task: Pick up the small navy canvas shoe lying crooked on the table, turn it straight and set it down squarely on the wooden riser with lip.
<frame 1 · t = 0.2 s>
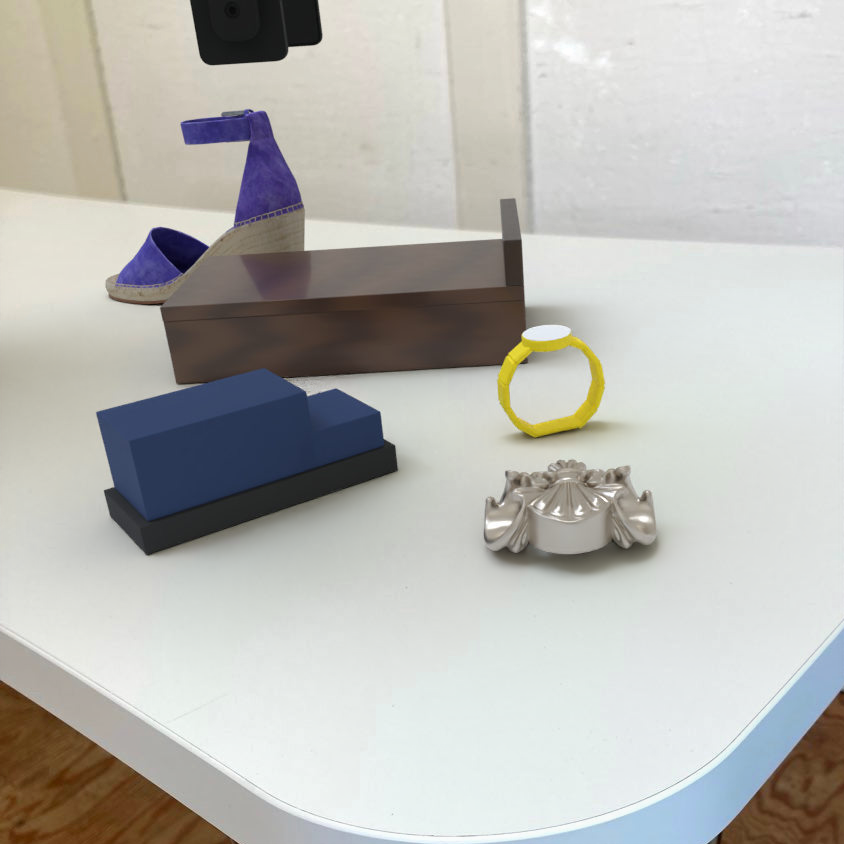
hand: (268, 53, 44), 21 cm above the table, tool pointing down, fingers open, 9 cm apart
sandal: (209, 297, 93), on the table
ornament: (570, 540, 50), on the table
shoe: (258, 492, 56), on the table
watch: (553, 433, 62), on the table
wooden riser with lip: (362, 342, 78), on the table
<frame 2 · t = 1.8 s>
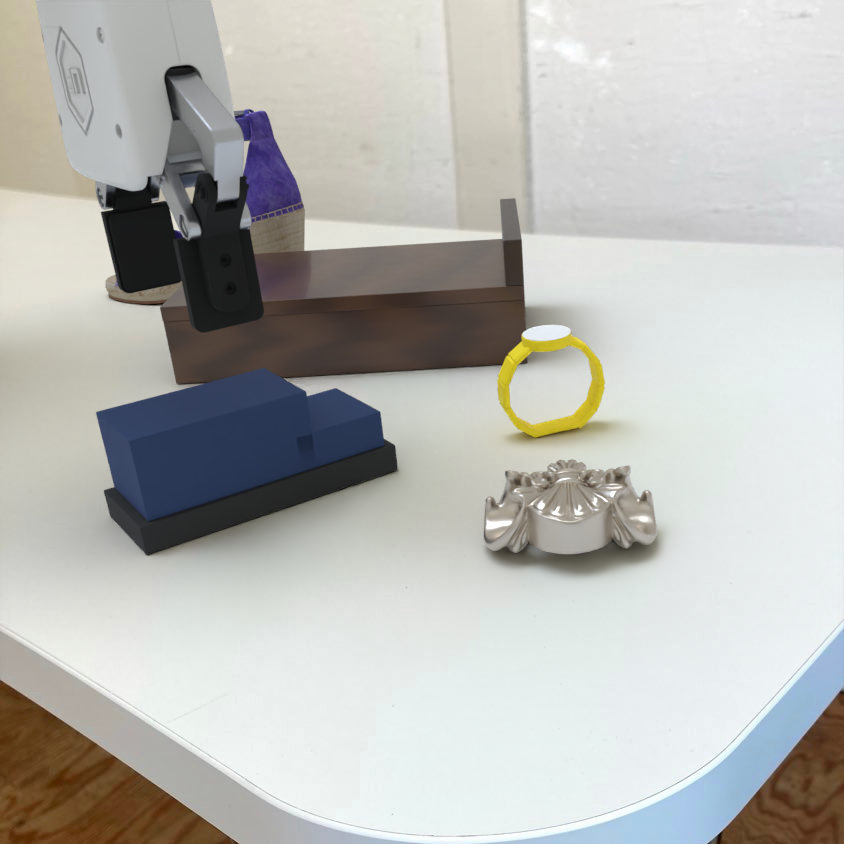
hand: (188, 304, 50), 11 cm above the table, tool pointing down, fingers open, 9 cm apart
nothing on the table moved.
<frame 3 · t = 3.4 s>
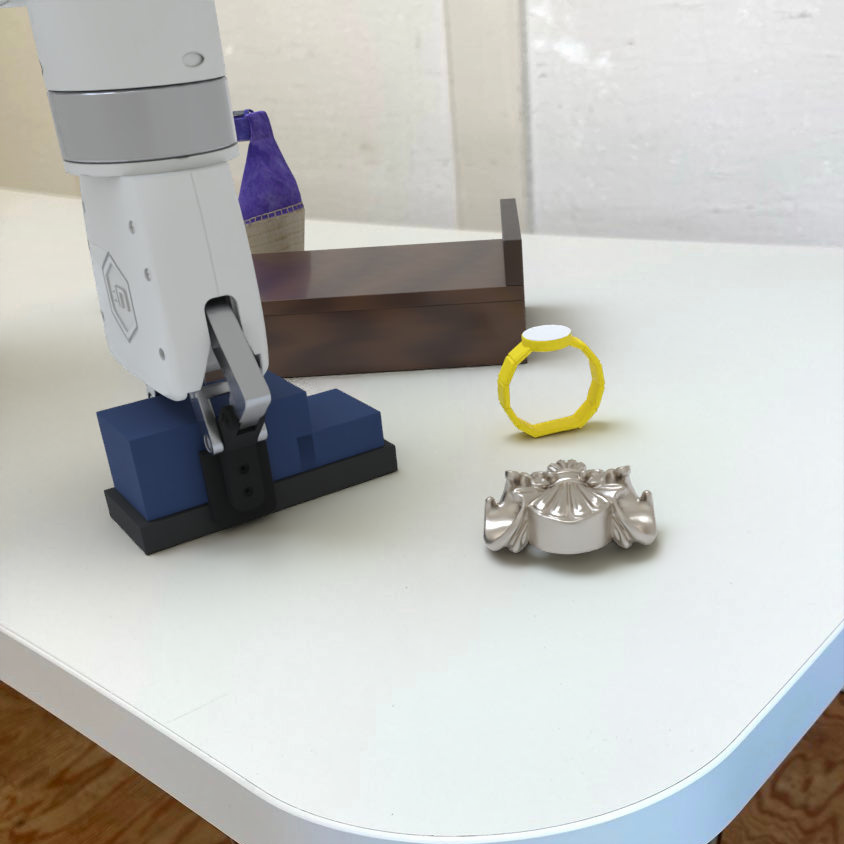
hand: (220, 493, 55), 1 cm above the table, tool pointing down, fingers closed on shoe, 5 cm apart
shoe: (258, 492, 56), on the table, touching gripper
everything else where it was.
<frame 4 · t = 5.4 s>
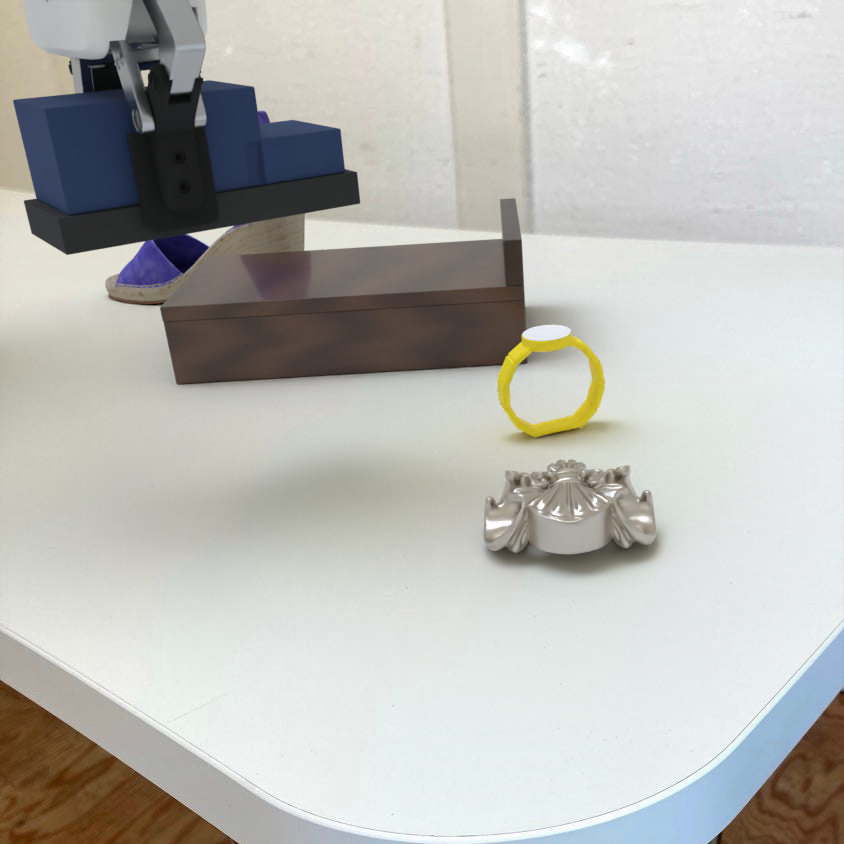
hand: (157, 211, 49), 15 cm above the table, tool pointing down, fingers closed on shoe, 5 cm apart
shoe: (201, 218, 50), point 14 cm above the table, touching gripper
everything else where it was.
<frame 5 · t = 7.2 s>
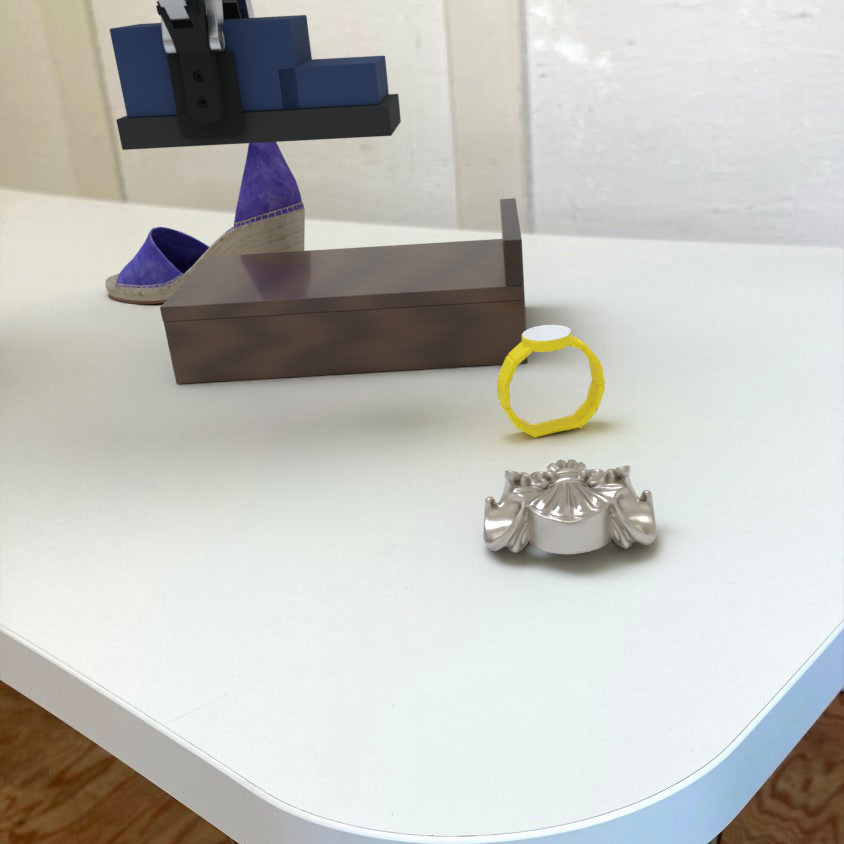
hand: (227, 125, 57), 17 cm above the table, tool pointing down, fingers closed on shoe, 5 cm apart
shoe: (267, 135, 57), point 17 cm above the table, touching gripper
everything else where it was.
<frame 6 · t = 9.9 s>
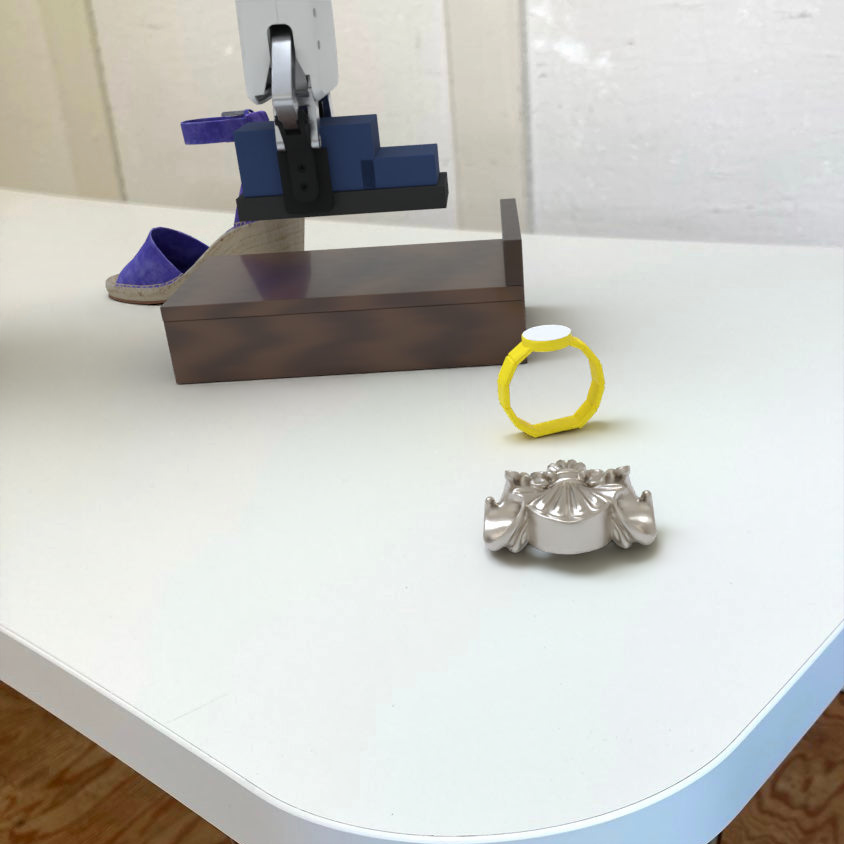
hand: (316, 200, 74), 10 cm above the table, tool pointing down, fingers closed on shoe, 5 cm apart
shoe: (347, 207, 74), point 10 cm above the table, touching gripper
everything else where it was.
when the fingers open (6 cm above the table, at t = 11.4 s): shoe stays where it is, resting on wooden riser with lip.
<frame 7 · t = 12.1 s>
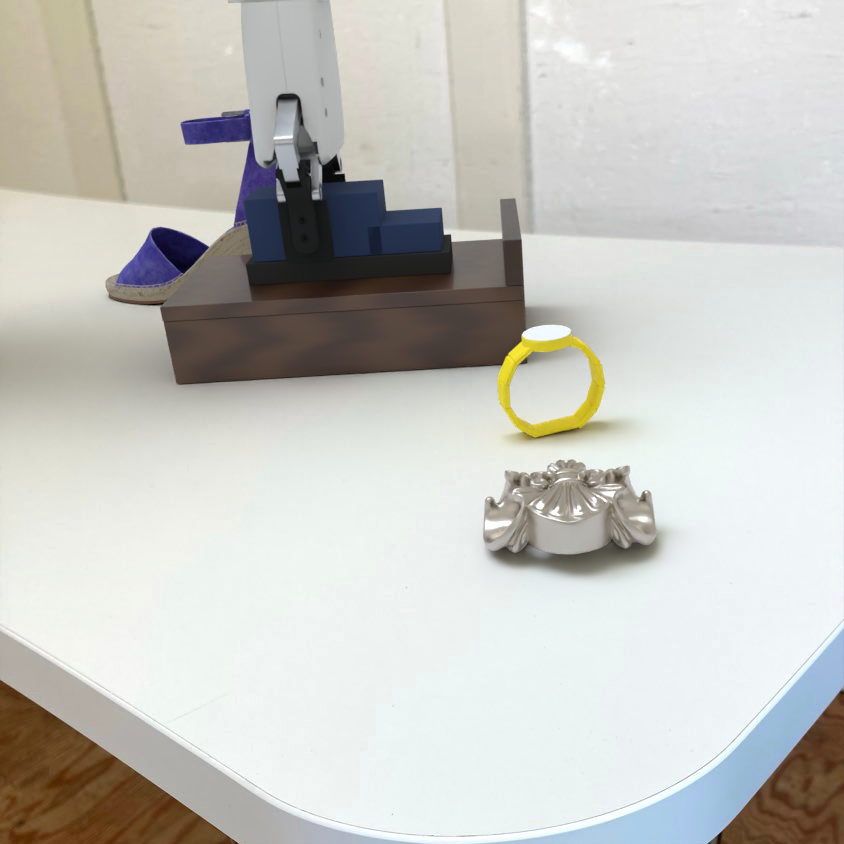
hand: (320, 245, 75), 7 cm above the table, tool pointing down, fingers open, 9 cm apart
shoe: (354, 269, 76), point 5 cm above the table, touching wooden riser with lip
everything else where it was.
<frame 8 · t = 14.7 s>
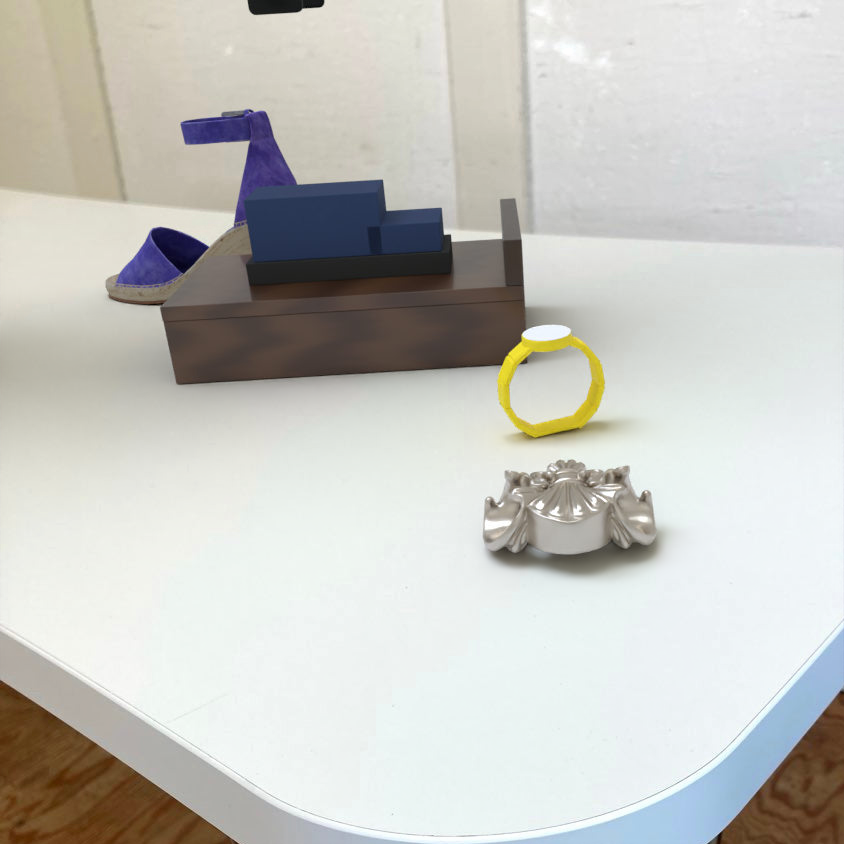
hand: (290, 10, 68), 22 cm above the table, tool pointing down, fingers open, 9 cm apart
nothing on the table moved.
at the end: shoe 0.1 cm off-centre on the wooden riser with lip, point 5.4 cm above the wooden riser with lip's base; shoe tilted 0°; the gripper is holding nothing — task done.
